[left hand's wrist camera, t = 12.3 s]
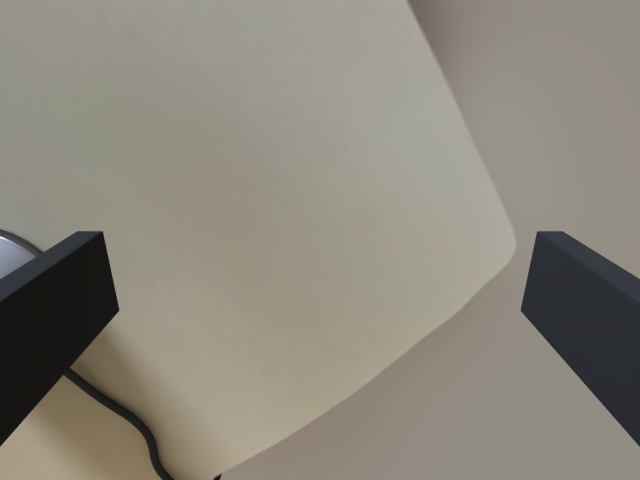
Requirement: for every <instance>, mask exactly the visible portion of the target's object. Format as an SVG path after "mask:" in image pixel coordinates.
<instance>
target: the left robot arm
mask: <svg viewBox="0 0 640 480" xmlns="http://www.w3.org/2000/svg"><path fill="white" fill-rule="evenodd" d="M118 312H119V306H118V302H117V297H116V292H115V287H114V283H113V278H112V273H111V268H110V264H109V259H108V254H107V249H106V244H105V240H104V235H103V231H77V232H76V233H74V234H72V235H71V236H69V237H68V238H66V239H64V240H63V241H61V242H60V243H58V244H56V245H55V246H53V247H51V248H50V249H48V250H47V251H45V252H42V251H40V250H39V249H38V248H37V247H35V246H34V245H32V244H31V243H29V242H28V241H26V240H24V239H22V238H20V237H18V236H16V235H14V234H12V233H9V232H6V231H3V230H0V446H1V445H2V444H3V443H4V442H5V441H6V439H7V438H8V437H9V436H10V435H11V434H12V433H13V431H14V430H15V429H16V428H17V427H18V426H19V425H20V423H21V422H22V421H23V420H24V419H25V418H26V417H27V415H28V414H29V413H30V412H31V411H32V410H33V409H34V407H35V406H36V405H37V404H38V403H39V402H40V401H41V399H42V398H43V397H44V396H45V395H46V394H47V393H48V391H49V390H50V389H51V388H52V387H53V386H54V385H55V383H56V382H57V381H58V380H59V379H60V378H61V377H62V375H64V376H66V377H67V378H68V379H70V380H71V381H72V382H73V383H75V384H76V385H77V386H78V387H80V388H81V389H82V390H84V391H85V392H86V393H87V394H89V395H90V396H91V397H93V398H94V399H95V400H97V401H98V402H100V403H101V404H103V405H104V406H106V407H107V408H109V409H111V410H112V411H114V412H115V413H117V414H119V415H120V416H122V417H123V418H125V419H126V420H128V421H129V422H130V423H131V424H133V425H134V426H135V427H136V428H137V429H138V430H139V431H140V432H141V433H142V435H143V436H144V438H145V440H146V442H147V444H148V448H149V452H150V458H151V462H152V465H153V467H154V469H155V471H156V472H157V474H158V475H159V476H160V477H161V479H162V480H174V479H173V478H172V477H171V476H170V475H169V474H168V473H167V472H166V471H165V469H164V468H163V467H162V465H161V463H160V460H159V456H158V451H157V446H156V442H155V439H154V437H153V435H152V433H151V431H150V430H149V429H148V427H147V426H146V425H145V424H144V423H143V422H142V421H141V420H140V419H139V418H138V417H137V416H135V415H134V414H133V413H131V412H130V411H129V410H127V409H126V408H124V407H122V406H121V405H119V404H118V403H116V402H114V401H113V400H111V399H110V398H108V397H107V396H105V395H104V394H102V393H101V392H100V391H98V390H97V389H96V388H95V387H93V386H92V385H91V384H89V383H88V382H87V381H86V380H84V379H83V378H82V377H81V376H79V375H78V374H77V373H76V372H74V371H73V370H72V369H71V368H69V367H70V366H71V365H72V364H73V363H74V362H75V361H76V359H77V358H78V357H79V356H80V355H81V354H82V353H83V351H84V350H85V349H86V348H87V347H88V346H89V345H90V344H91V342H92V341H93V340H94V339H95V338H96V337H97V336H98V334H99V333H100V332H101V331H102V330H103V329H104V328H105V326H106V325H107V324H108V323H109V322H110V321H111V320H112V318H113V317H114V316H115V315H116V314H117V313H118ZM521 312H522V313H523V314H524V315H525V316H526V317H527V318H528V320H529V321H530V322H531V323H532V324H533V325H534V326H535V328H536V329H537V330H538V331H539V332H540V333H541V334H542V335H543V337H544V338H545V339H546V340H547V341H548V342H549V344H550V345H551V346H552V347H553V348H554V349H555V350H556V351H557V353H558V354H559V355H560V356H561V357H562V358H563V359H564V361H565V362H566V363H567V364H568V365H569V366H570V367H571V369H572V370H573V371H574V372H575V373H576V374H577V375H578V377H579V378H580V379H581V380H582V381H583V382H584V383H585V385H586V386H587V387H588V388H589V389H590V390H591V391H592V393H593V394H594V395H595V396H596V397H597V398H598V399H599V401H600V402H601V403H602V404H603V405H604V406H605V407H606V409H607V410H608V411H609V412H610V413H611V414H612V415H613V417H614V418H615V419H616V420H617V421H618V422H619V423H620V424H621V426H622V427H623V428H624V429H625V430H626V431H627V433H628V434H629V435H630V436H631V437H632V438H633V439H634V441H635V442H636V443H637V444H638V445H639V446H640V279H639V278H637V277H635V276H634V275H632V274H631V273H629V272H627V271H626V270H624V269H623V268H621V267H619V266H618V265H616V264H614V263H613V262H611V261H610V260H608V259H606V258H605V257H603V256H601V255H600V254H598V253H597V252H595V251H593V250H592V249H590V248H588V247H587V246H585V245H584V244H582V243H580V242H579V241H577V240H576V239H574V238H572V237H571V236H569V235H567V234H566V233H564V232H562V231H538V232H537V235H536V240H535V244H534V249H533V254H532V259H531V264H530V268H529V273H528V278H527V283H526V288H525V292H524V297H523V302H522V306H521ZM221 475H222V473H221V474H220V475H218V476H216V477H214V479H213V480H220V478H221Z"/></svg>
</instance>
